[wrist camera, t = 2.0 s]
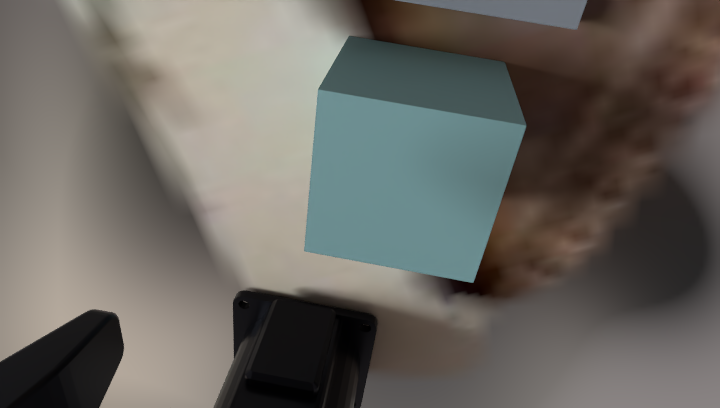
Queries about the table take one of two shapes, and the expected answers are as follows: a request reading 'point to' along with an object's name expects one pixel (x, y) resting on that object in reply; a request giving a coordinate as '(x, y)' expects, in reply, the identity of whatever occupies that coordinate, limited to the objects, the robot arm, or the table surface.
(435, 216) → the teal block
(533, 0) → the build board
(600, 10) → the table surface
